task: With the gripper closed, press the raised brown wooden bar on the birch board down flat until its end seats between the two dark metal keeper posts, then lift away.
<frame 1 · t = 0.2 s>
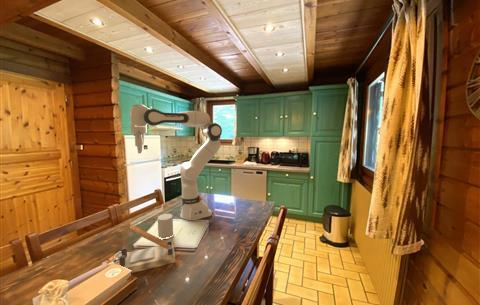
hand: (140, 152, 126), 48 cm above the table, tool pointing down, fingers open, 8 cm apart
cup: (165, 236, 116), on the table
latch board: (148, 260, 94), on the table
brown wooden bar: (152, 238, 93), point 11 cm above the table, hinge at -40.0°
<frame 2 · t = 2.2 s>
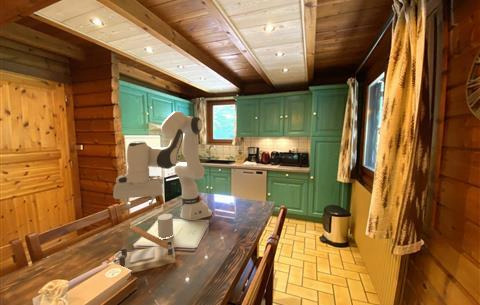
hand: (139, 205, 91), 27 cm above the table, tool pointing down, fingers open, 8 cm apart
nothing on the table moved.
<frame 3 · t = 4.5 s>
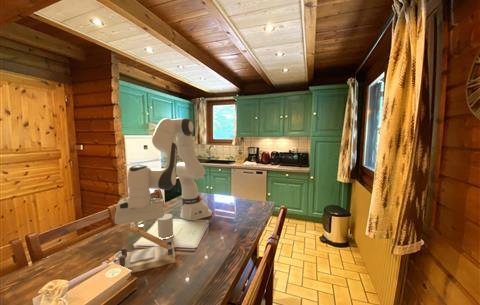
hand: (141, 229, 91), 16 cm above the table, tool pointing down, fingers closed
brown wooden bar: (152, 238, 93), point 11 cm above the table, hinge at -39.8°, touching gripper
everything else where it was.
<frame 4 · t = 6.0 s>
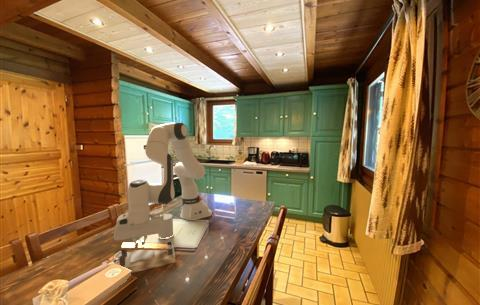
hand: (140, 244, 91), 9 cm above the table, tool pointing down, fingers closed
brown wooden bar: (147, 246, 93), point 7 cm above the table, hinge at -15.7°, touching gripper
everything else where it was.
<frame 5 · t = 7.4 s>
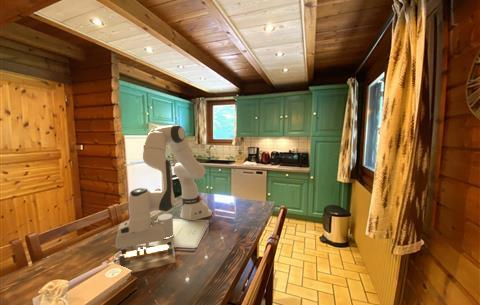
hand: (141, 252, 92), 5 cm above the table, tool pointing down, fingers closed on brown wooden bar
brown wooden bar: (147, 251, 93), point 5 cm above the table, hinge at -1.5°, touching gripper
everything else where it was.
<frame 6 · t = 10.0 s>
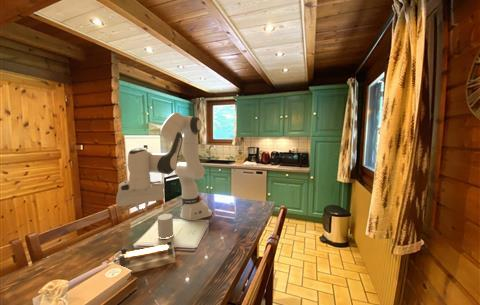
hand: (142, 211, 94), 24 cm above the table, tool pointing down, fingers closed
brown wooden bar: (147, 251, 93), point 5 cm above the table, hinge at -1.5°
everything else where it was.
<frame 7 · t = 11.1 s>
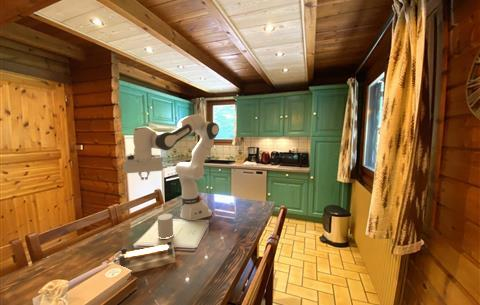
hand: (144, 179, 112), 34 cm above the table, tool pointing down, fingers closed
nothing on the table moved.
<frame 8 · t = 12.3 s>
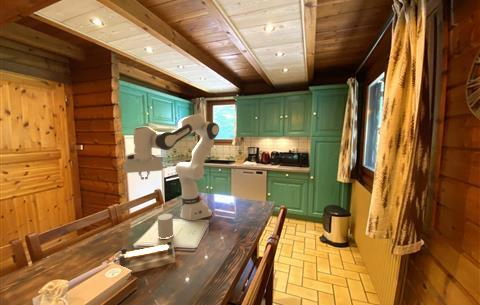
hand: (144, 179, 112), 34 cm above the table, tool pointing down, fingers closed
nothing on the table moved.
at the end: brown wooden bar at -2° (first picture: -40°); cup moved 0.2 cm from its start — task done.
